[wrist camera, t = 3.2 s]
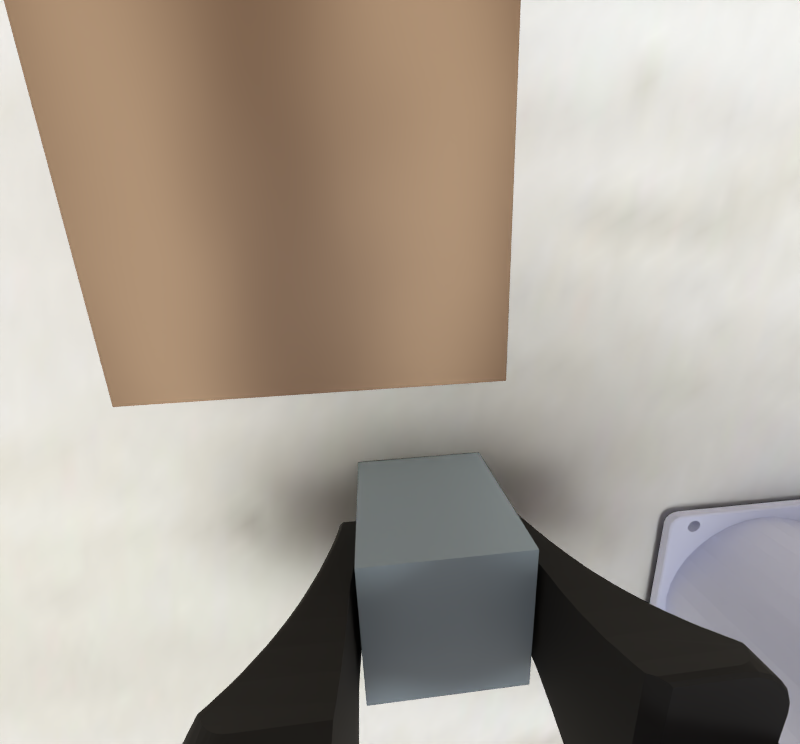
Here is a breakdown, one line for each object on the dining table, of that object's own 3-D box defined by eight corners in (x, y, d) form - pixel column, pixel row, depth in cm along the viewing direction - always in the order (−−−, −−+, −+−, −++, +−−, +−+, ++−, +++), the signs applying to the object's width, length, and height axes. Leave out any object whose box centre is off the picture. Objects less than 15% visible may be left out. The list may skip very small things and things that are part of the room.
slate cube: (478, 452, 14) (538, 549, 9) (476, 552, 15) (528, 684, 10) (358, 462, 13) (354, 568, 9) (366, 563, 15) (366, 705, 10)
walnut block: (479, -2, 10) (525, -110, 7) (474, 355, 13) (505, 380, 10) (91, -7, 9) (-31, -130, 6) (173, 374, 12) (113, 407, 9)
